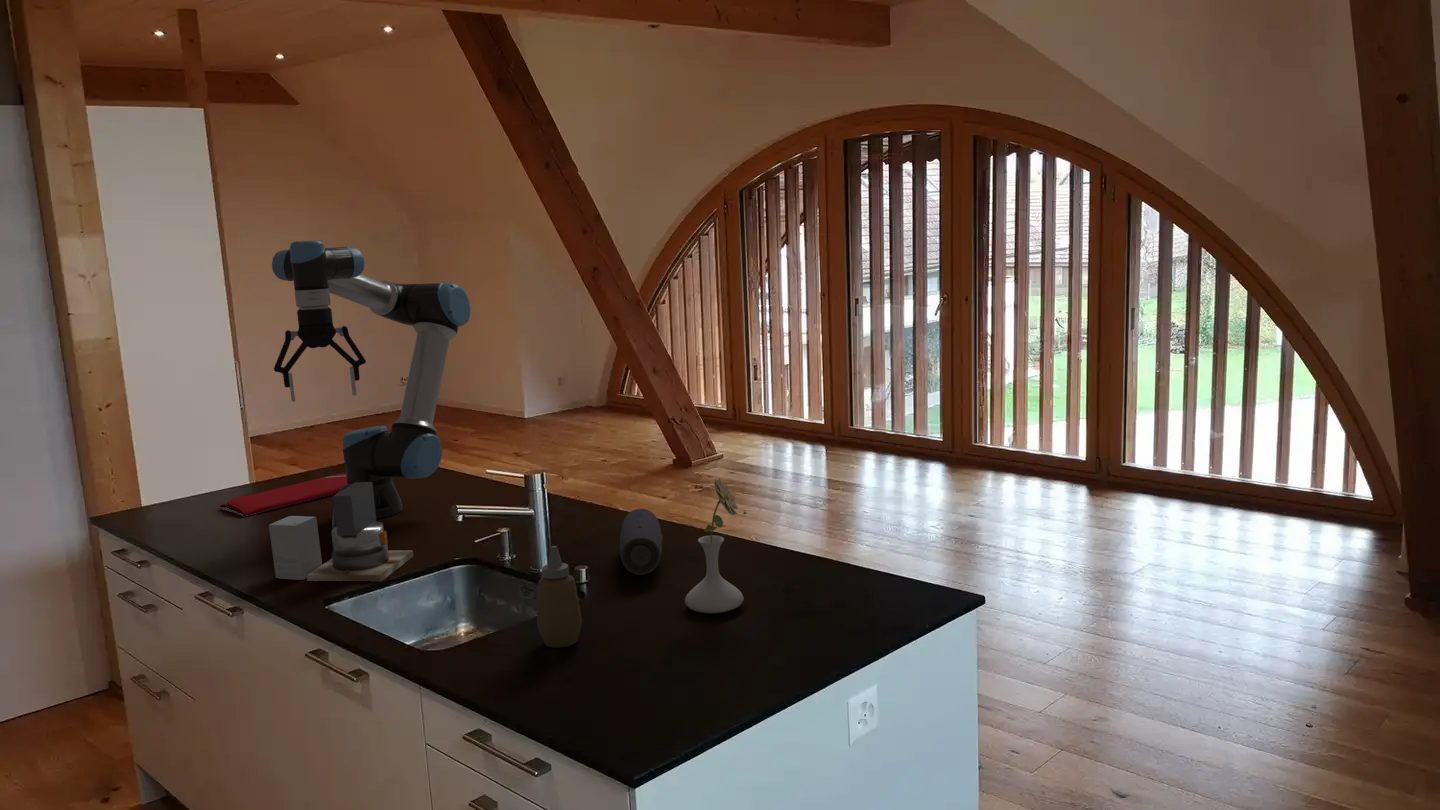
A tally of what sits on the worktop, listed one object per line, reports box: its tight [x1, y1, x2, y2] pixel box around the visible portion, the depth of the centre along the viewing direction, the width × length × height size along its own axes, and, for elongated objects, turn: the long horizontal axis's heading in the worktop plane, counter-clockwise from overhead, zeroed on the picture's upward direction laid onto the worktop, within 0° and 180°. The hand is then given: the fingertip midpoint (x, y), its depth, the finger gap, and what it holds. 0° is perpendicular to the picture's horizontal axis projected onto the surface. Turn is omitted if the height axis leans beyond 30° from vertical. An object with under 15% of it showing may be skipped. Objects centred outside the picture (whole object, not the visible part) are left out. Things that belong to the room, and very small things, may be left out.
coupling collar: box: [331, 482, 388, 557], centre depth 239 cm, size 12×12×14 cm
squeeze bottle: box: [536, 545, 583, 649], centre depth 191 cm, size 8×8×18 cm
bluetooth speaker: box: [619, 508, 663, 576], centre depth 234 cm, size 23×9×10 cm, turn 4°
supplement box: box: [268, 515, 323, 581], centre depth 238 cm, size 7×7×13 cm
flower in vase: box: [684, 477, 745, 614], centre depth 205 cm, size 13×11×25 cm
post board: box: [306, 543, 414, 583], centre depth 240 cm, size 17×17×4 cm
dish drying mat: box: [220, 471, 347, 516], centre depth 310 cm, size 16×41×4 cm, turn 138°
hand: (324, 397), depth 252 cm, fingers open, 13 cm apart
